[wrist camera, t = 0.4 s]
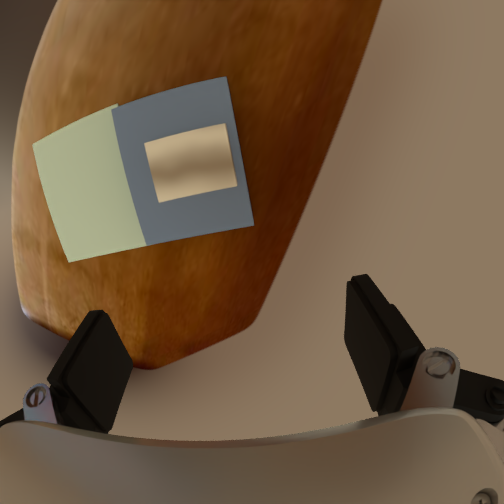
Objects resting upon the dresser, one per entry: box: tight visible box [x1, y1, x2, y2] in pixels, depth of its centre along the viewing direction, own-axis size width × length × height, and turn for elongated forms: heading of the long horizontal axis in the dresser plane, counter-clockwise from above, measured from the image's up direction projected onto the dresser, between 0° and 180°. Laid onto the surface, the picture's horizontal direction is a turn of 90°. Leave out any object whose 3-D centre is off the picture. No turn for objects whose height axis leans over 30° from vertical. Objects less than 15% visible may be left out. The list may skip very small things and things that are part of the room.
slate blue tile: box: [111, 77, 254, 245], centre depth 32 cm, size 18×14×3 cm
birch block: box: [144, 123, 237, 203], centre depth 29 cm, size 7×9×2 cm
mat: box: [32, 104, 153, 262], centre depth 33 cm, size 20×16×1 cm
